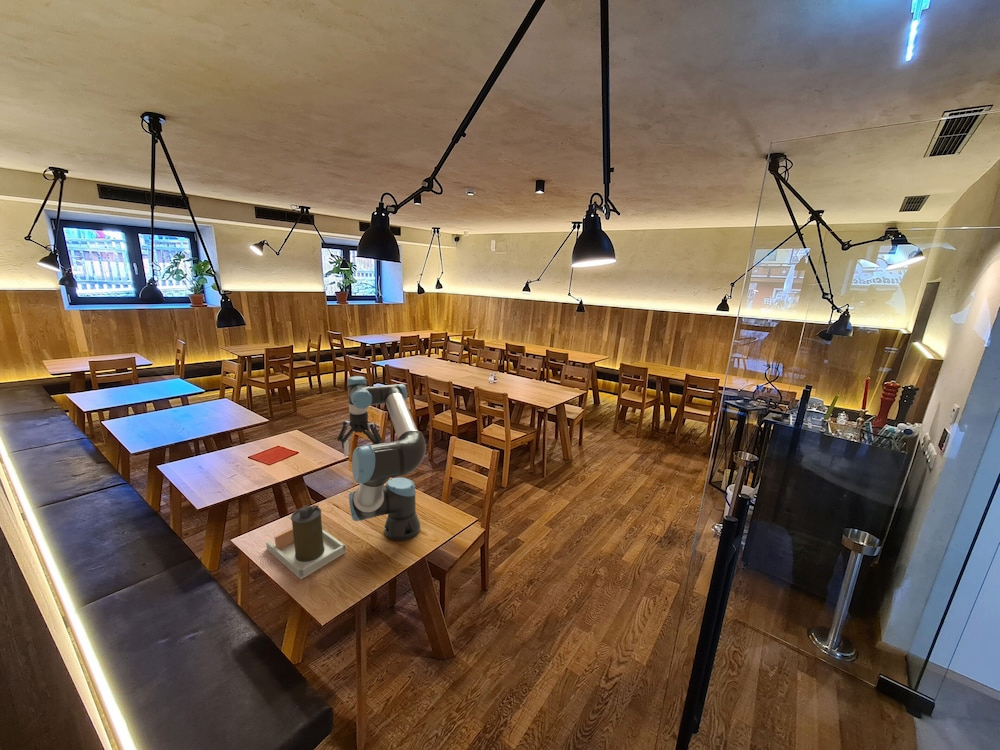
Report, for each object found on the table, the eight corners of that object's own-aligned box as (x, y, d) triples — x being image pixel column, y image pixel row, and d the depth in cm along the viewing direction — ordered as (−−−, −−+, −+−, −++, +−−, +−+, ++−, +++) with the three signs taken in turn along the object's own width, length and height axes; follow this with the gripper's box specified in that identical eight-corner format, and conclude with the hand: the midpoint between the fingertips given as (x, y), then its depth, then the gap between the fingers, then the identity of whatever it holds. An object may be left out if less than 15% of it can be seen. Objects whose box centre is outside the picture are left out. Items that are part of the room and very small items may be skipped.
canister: (312, 564, 145) (308, 517, 141) (288, 559, 147) (283, 513, 143) (330, 545, 156) (327, 501, 151) (308, 541, 158) (303, 497, 153)
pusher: (314, 531, 163) (313, 519, 162) (277, 550, 151) (275, 537, 150) (305, 525, 167) (304, 513, 166) (268, 543, 155) (267, 530, 154)
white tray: (345, 552, 153) (345, 545, 153) (300, 579, 139) (300, 571, 138) (310, 527, 168) (310, 520, 167) (266, 549, 154) (266, 542, 153)
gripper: (389, 411, 169) (391, 455, 174) (336, 406, 172) (339, 450, 177) (381, 417, 162) (383, 463, 167) (326, 412, 165) (330, 457, 170)
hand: (361, 456), depth 172 cm, fingers open, 13 cm apart
